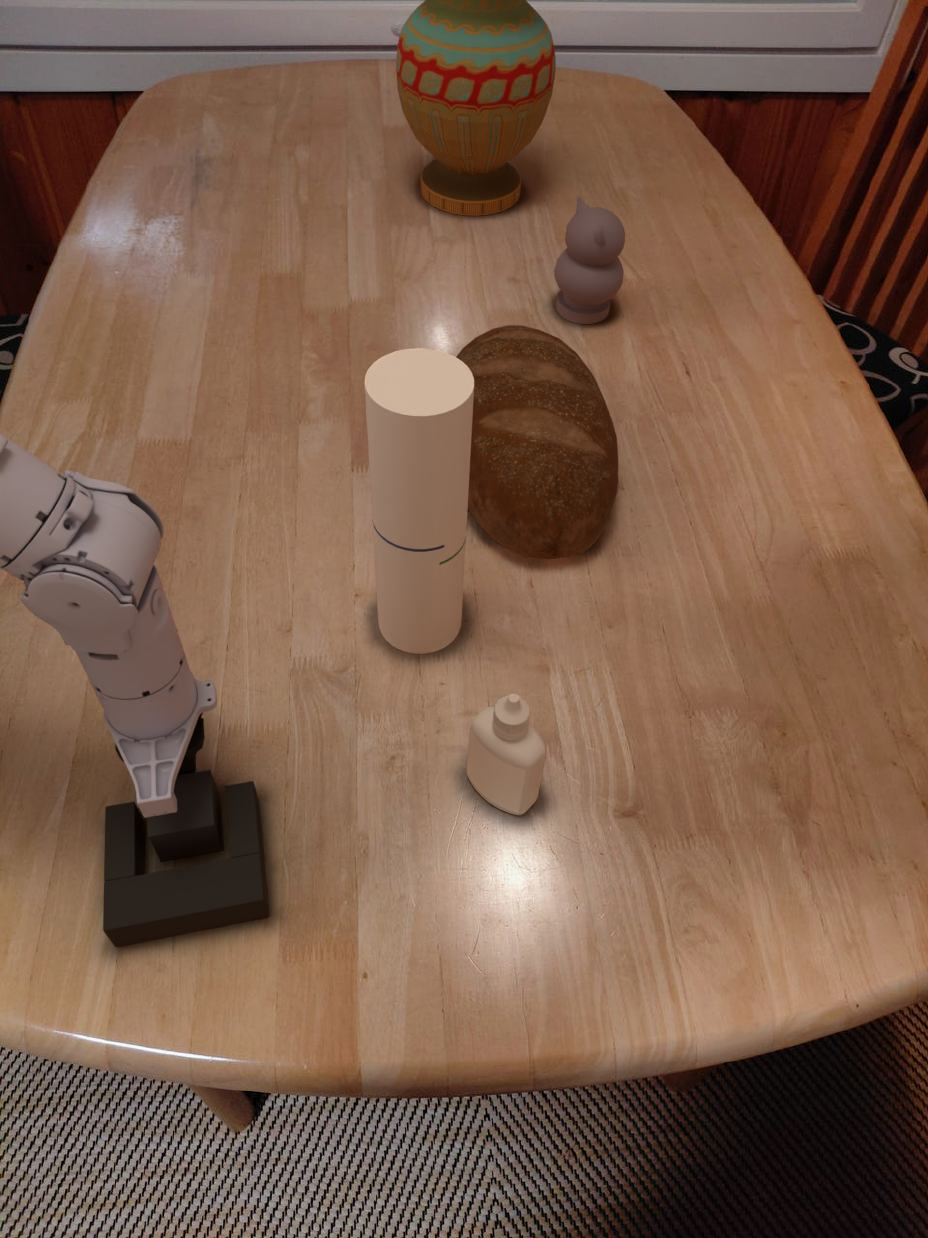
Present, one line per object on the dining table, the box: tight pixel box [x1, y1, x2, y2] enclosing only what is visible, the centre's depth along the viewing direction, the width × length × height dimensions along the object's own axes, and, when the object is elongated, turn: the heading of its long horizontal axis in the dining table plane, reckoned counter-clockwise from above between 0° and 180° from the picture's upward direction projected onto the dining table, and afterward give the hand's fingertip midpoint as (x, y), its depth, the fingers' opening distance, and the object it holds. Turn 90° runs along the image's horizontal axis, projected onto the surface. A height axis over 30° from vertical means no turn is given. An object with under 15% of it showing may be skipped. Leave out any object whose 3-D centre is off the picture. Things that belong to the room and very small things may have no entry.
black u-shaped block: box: [102, 780, 271, 948], centre depth 64 cm, size 10×9×3 cm
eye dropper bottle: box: [466, 693, 547, 816], centre depth 66 cm, size 4×6×12 cm
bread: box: [455, 324, 619, 561], centre depth 89 cm, size 16×29×11 cm, turn 9°
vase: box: [395, 0, 557, 217], centre depth 116 cm, size 20×20×30 cm
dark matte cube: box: [147, 769, 225, 862], centre depth 66 cm, size 4×4×4 cm
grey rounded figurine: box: [554, 195, 626, 325], centre depth 106 cm, size 8×8×12 cm
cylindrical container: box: [364, 347, 474, 655], centre depth 70 cm, size 7×7×25 cm
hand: (180, 772), depth 67 cm, fingers closed
